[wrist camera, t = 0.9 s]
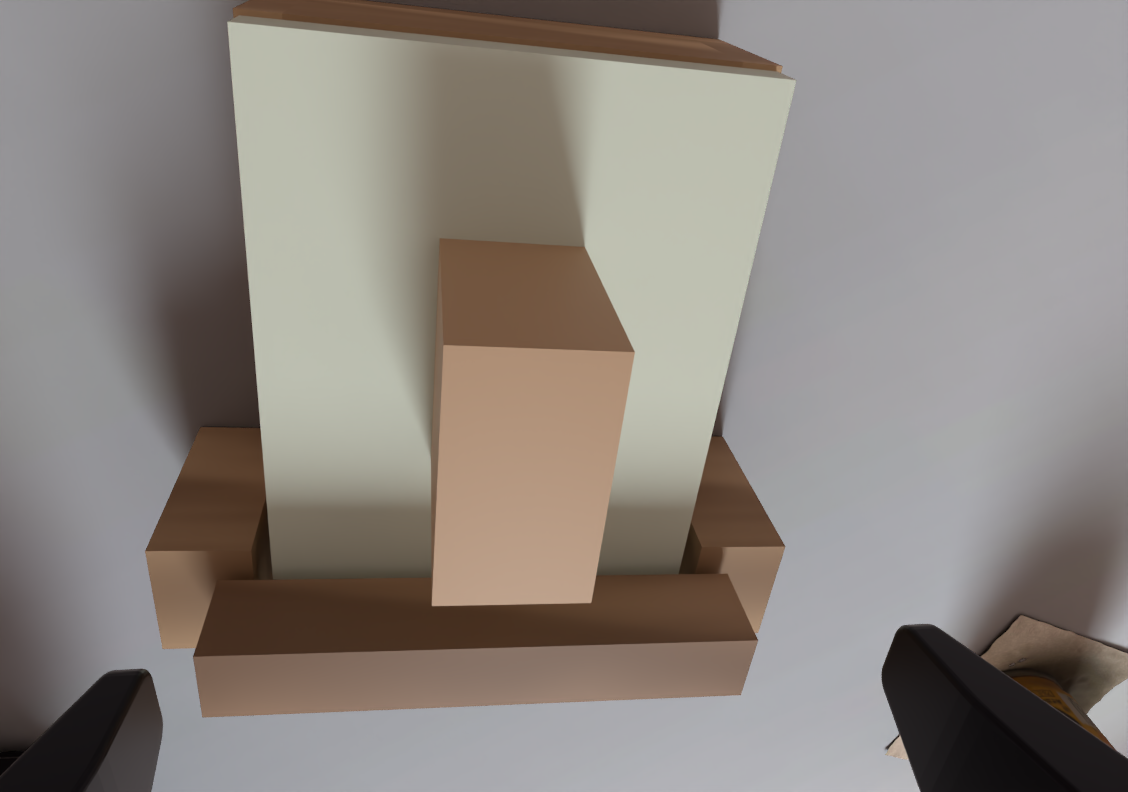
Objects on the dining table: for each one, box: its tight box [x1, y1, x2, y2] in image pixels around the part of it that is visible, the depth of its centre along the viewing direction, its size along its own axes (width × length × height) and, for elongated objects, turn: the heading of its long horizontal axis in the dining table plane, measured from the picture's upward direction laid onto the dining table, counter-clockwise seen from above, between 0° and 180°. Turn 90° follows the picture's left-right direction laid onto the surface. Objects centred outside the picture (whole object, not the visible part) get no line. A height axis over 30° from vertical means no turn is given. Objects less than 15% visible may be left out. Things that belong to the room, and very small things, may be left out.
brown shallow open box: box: [145, 0, 785, 649], centre depth 20 cm, size 16×15×5 cm
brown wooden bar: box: [193, 574, 758, 717], centre depth 19 cm, size 2×12×2 cm, turn 83°
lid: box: [227, 15, 796, 606], centre depth 16 cm, size 16×10×6 cm, turn 173°
